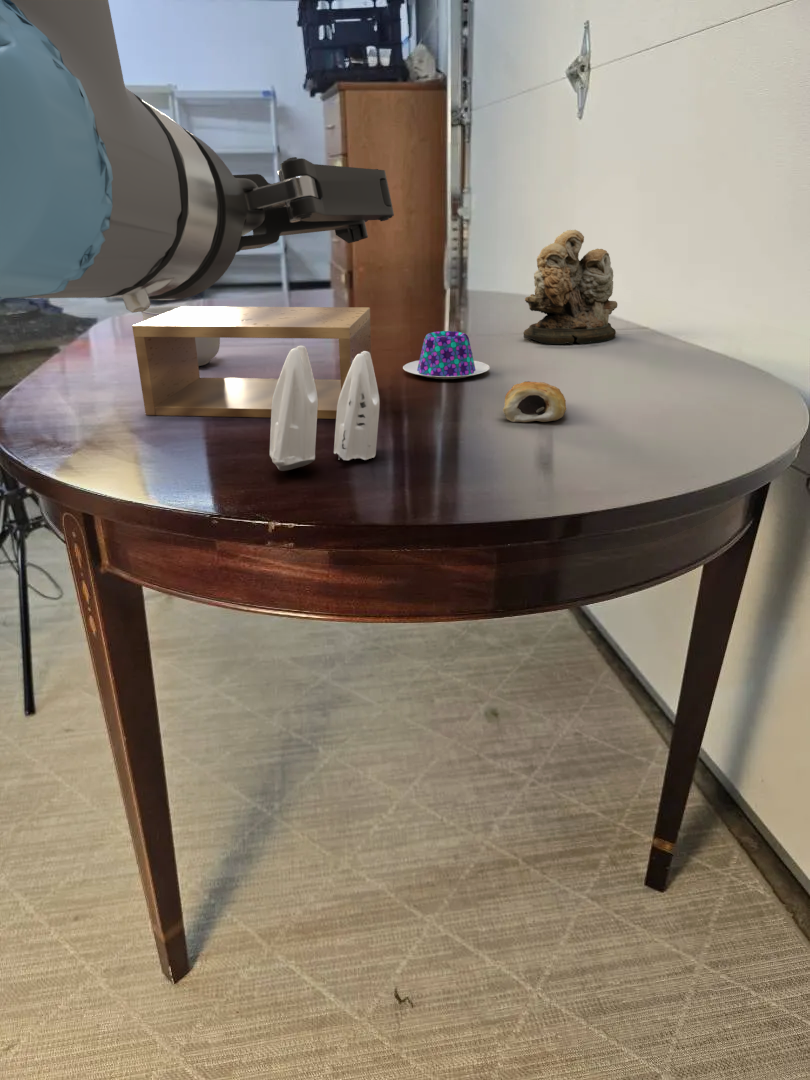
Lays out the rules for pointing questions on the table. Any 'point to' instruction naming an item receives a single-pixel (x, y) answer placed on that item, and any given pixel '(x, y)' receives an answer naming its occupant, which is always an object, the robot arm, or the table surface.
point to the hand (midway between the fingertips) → (253, 244)
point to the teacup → (204, 345)
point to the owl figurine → (572, 293)
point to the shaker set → (299, 412)
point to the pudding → (446, 357)
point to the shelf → (173, 347)
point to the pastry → (534, 402)
